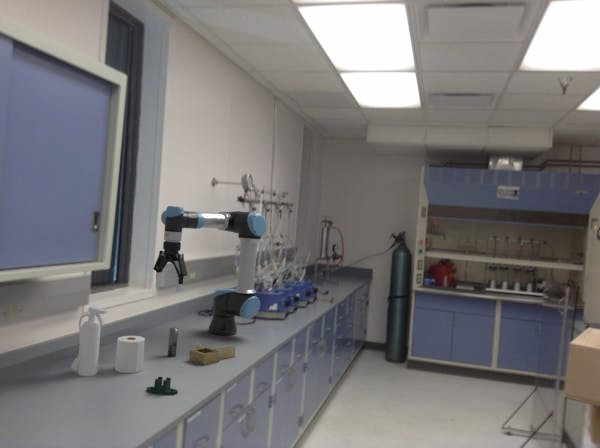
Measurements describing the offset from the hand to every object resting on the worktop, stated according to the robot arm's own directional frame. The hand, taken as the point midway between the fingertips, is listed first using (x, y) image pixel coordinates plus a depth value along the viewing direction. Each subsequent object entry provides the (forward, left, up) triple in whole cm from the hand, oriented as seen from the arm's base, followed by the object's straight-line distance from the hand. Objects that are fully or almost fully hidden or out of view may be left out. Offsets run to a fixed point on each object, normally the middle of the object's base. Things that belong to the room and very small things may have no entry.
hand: (168, 289), depth 233 cm
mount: (+32, +40, -28) cm, 58 cm away
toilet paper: (+26, +12, -28) cm, 40 cm away
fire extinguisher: (+41, +7, -28) cm, 50 cm away
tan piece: (-11, +16, -28) cm, 34 cm away
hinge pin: (+1, +7, -28) cm, 29 cm away
